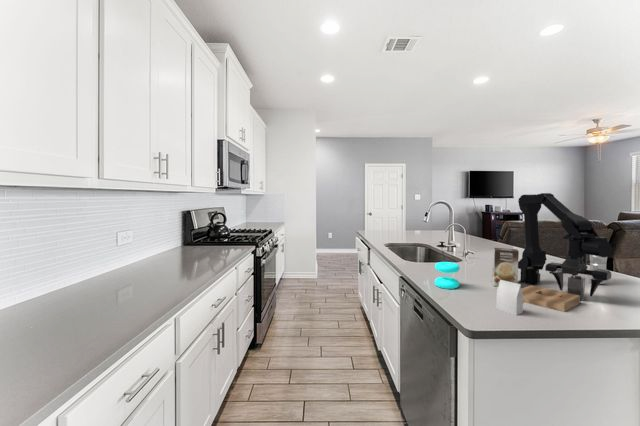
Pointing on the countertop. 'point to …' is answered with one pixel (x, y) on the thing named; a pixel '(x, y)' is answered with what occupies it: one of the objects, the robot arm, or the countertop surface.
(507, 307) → the white upright block
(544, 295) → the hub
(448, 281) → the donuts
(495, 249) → the coffee box
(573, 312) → the countertop surface
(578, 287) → the peg
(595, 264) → the plastic bottle
